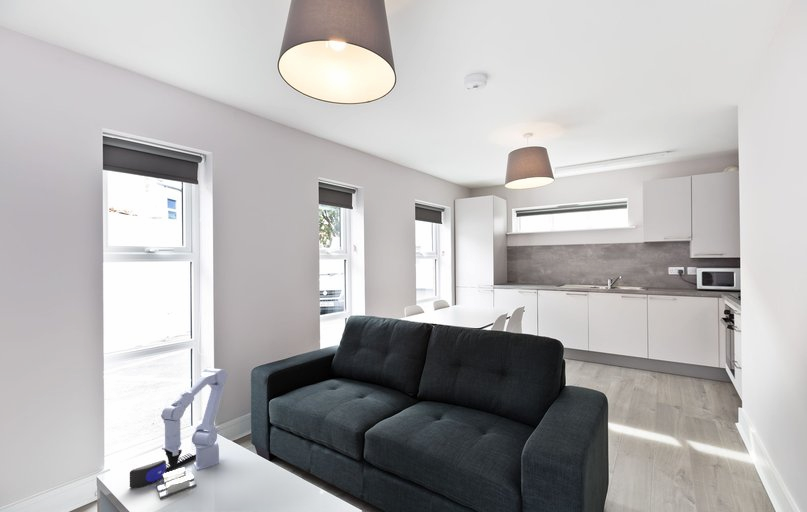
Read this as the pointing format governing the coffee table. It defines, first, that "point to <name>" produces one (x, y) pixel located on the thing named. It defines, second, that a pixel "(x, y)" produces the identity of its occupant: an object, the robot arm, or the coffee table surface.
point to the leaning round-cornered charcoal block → (147, 474)
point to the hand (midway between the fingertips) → (172, 465)
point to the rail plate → (175, 483)
